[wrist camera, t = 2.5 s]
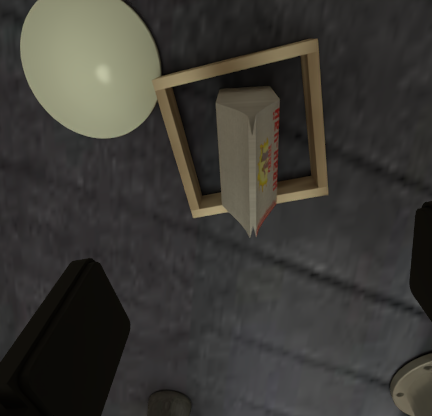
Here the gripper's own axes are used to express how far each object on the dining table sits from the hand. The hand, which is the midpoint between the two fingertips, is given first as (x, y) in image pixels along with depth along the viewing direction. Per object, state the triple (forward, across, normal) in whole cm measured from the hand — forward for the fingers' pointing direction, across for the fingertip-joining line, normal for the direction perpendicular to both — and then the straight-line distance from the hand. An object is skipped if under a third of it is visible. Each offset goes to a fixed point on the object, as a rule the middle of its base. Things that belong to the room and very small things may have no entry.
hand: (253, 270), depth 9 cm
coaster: (+17, +10, -6) cm, 21 cm away
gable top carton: (+18, 0, +1) cm, 18 cm away
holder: (+17, 0, +1) cm, 17 cm away
